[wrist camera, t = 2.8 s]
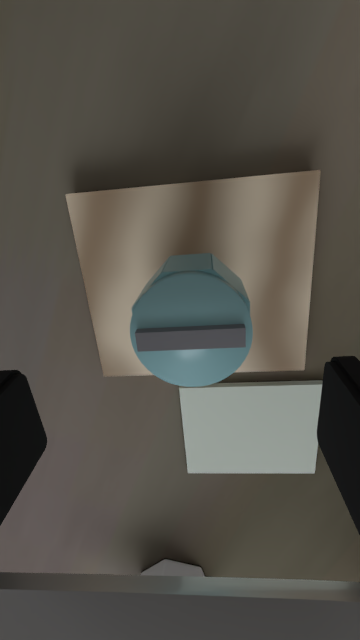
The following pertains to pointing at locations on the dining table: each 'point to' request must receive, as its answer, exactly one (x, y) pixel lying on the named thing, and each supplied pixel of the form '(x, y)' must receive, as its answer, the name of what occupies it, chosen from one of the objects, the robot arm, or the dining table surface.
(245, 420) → the mat
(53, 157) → the dining table surface
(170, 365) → the cap
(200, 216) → the post base
